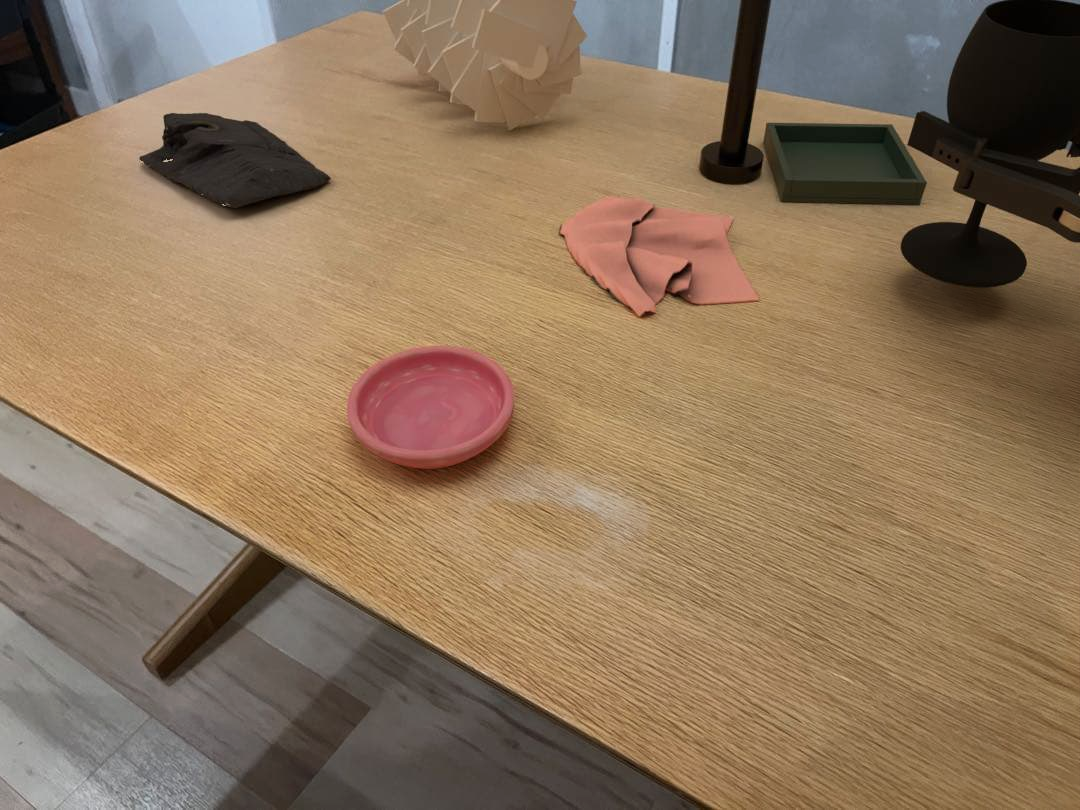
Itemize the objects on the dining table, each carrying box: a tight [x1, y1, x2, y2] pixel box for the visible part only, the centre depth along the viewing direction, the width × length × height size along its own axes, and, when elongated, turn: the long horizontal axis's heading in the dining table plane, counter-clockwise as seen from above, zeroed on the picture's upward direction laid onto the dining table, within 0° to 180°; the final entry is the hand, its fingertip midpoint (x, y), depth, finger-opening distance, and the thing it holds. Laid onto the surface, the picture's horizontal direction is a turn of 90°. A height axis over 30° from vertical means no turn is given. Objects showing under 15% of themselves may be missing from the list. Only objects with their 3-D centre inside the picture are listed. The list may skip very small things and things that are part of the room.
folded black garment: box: [138, 112, 331, 209], centre depth 94 cm, size 15×22×5 cm
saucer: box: [346, 345, 516, 470], centre depth 62 cm, size 12×12×3 cm
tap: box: [698, 0, 772, 185], centre depth 83 cm, size 10×7×34 cm, turn 86°
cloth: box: [558, 195, 760, 318], centre depth 80 cm, size 20×22×2 cm
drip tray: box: [762, 122, 928, 206], centre depth 93 cm, size 15×15×3 cm
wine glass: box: [900, 0, 1080, 289], centre depth 66 cm, size 10×10×20 cm
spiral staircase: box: [382, 0, 588, 131], centre depth 103 cm, size 18×18×25 cm
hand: (960, 116), depth 68 cm, fingers closed on wine glass, 9 cm apart
